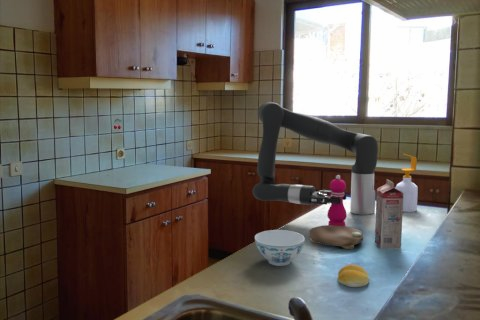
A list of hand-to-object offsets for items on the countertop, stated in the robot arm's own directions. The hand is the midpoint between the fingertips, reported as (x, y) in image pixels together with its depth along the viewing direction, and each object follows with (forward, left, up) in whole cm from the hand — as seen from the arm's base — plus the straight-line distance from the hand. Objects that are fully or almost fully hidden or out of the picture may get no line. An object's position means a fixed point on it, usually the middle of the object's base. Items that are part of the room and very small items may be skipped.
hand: (343, 198), depth 172 cm
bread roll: (+28, +41, -12) cm, 51 cm away
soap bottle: (-41, -9, -11) cm, 43 cm away
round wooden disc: (+12, +12, -11) cm, 21 cm away
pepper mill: (+1, -2, -11) cm, 11 cm away
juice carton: (-1, +23, -11) cm, 26 cm away
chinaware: (+39, +20, -11) cm, 46 cm away
